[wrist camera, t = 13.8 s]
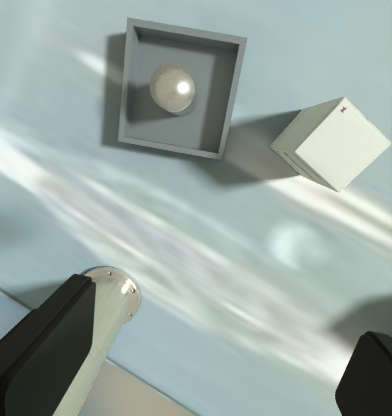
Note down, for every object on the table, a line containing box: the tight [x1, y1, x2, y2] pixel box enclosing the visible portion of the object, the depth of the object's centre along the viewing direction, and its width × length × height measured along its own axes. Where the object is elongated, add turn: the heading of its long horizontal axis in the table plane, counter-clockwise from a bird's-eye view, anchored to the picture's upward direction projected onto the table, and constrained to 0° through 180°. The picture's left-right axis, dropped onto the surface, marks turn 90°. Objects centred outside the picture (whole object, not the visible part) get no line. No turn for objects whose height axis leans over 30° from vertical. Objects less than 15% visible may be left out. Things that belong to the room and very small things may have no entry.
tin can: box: [150, 62, 198, 116], centre depth 33 cm, size 5×5×8 cm
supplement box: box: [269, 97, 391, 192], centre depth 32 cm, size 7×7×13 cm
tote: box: [118, 18, 247, 160], centre depth 36 cm, size 16×16×4 cm
